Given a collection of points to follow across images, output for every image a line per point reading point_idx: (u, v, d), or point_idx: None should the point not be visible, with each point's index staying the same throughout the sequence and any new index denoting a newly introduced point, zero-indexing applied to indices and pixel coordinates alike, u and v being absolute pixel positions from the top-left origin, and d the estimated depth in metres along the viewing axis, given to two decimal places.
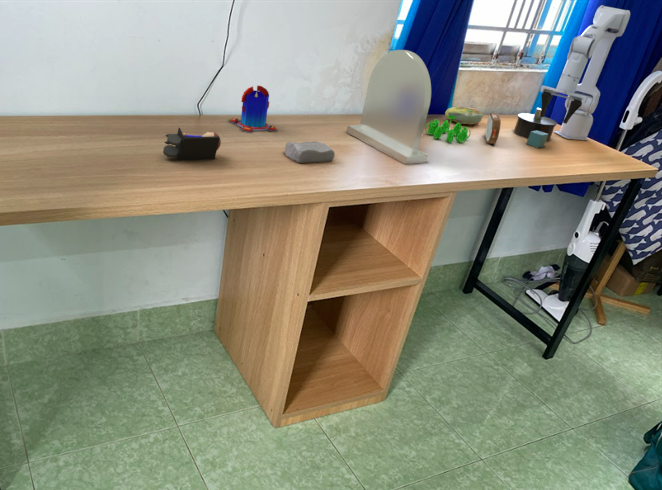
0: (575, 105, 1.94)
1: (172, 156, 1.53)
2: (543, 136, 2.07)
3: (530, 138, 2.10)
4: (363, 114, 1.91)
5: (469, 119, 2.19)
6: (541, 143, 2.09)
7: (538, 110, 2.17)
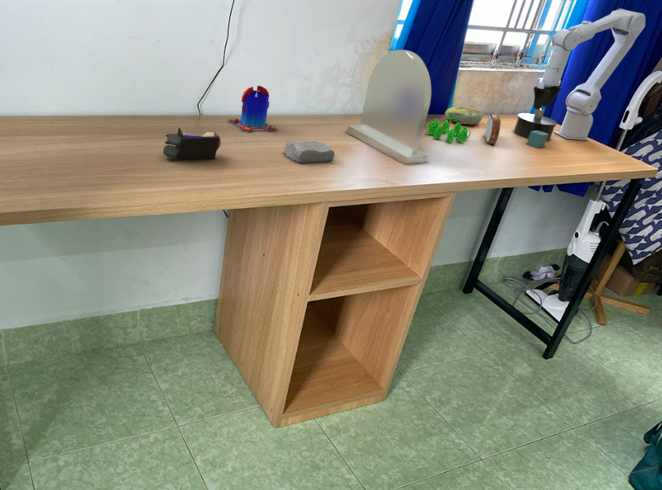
0: None
1: (172, 156, 1.53)
2: (543, 136, 2.07)
3: (530, 138, 2.10)
4: (363, 114, 1.91)
5: (469, 119, 2.19)
6: (541, 143, 2.09)
7: (538, 110, 2.17)
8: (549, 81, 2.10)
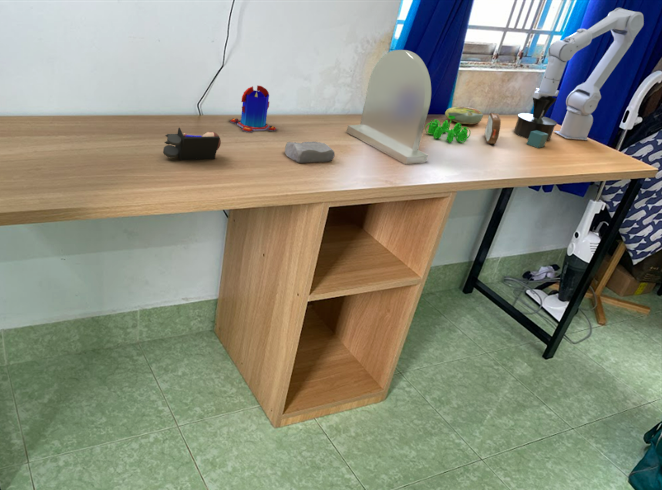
0: None
1: (172, 156, 1.53)
2: (543, 136, 2.07)
3: (530, 138, 2.10)
4: (363, 114, 1.91)
5: (469, 119, 2.19)
6: (541, 143, 2.09)
7: None
8: (545, 91, 2.12)
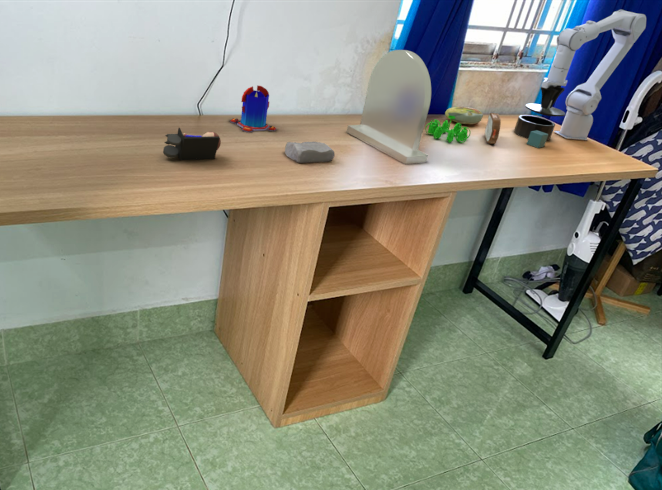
0: None
1: (172, 156, 1.53)
2: (543, 136, 2.07)
3: (530, 138, 2.10)
4: (363, 114, 1.91)
5: (469, 119, 2.19)
6: (541, 143, 2.09)
7: None
8: (553, 81, 2.09)
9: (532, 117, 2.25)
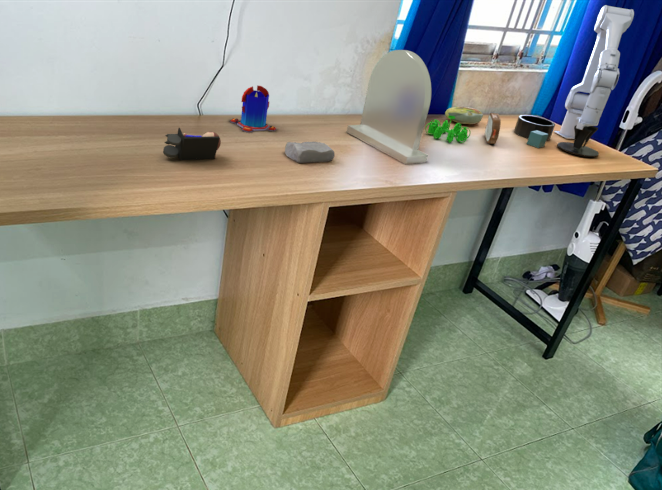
0: None
1: (172, 156, 1.53)
2: (543, 136, 2.07)
3: (530, 138, 2.10)
4: (363, 114, 1.91)
5: (469, 119, 2.19)
6: (541, 143, 2.09)
7: None
8: (588, 121, 2.04)
9: (532, 117, 2.25)
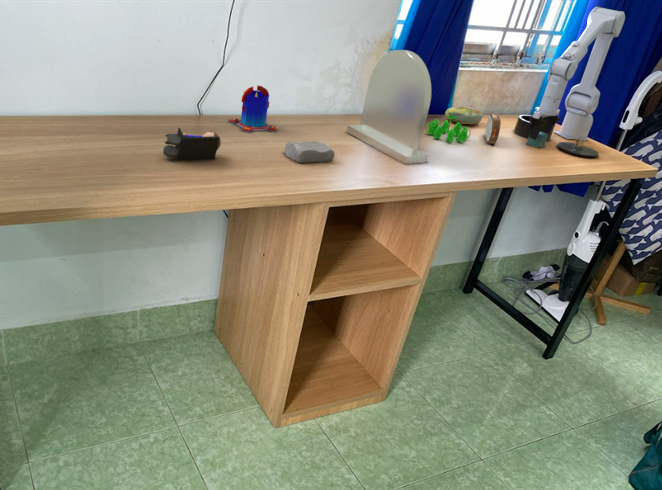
0: None
1: (172, 156, 1.53)
2: (543, 136, 2.07)
3: (530, 138, 2.10)
4: (363, 114, 1.91)
5: (469, 119, 2.19)
6: (541, 143, 2.09)
7: (579, 140, 2.08)
8: (545, 111, 2.03)
9: None
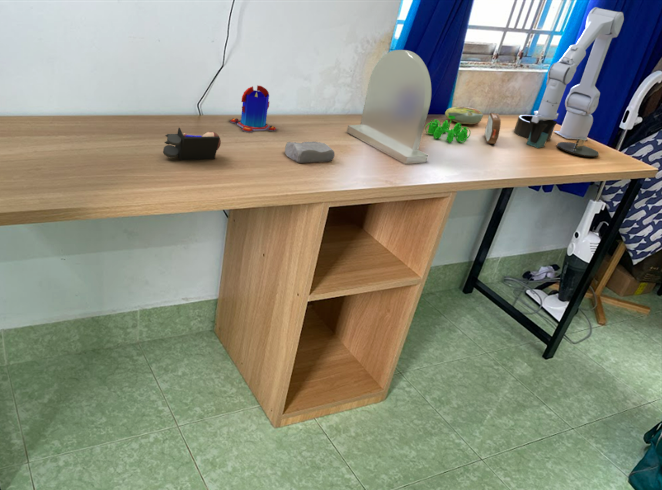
0: None
1: (172, 156, 1.53)
2: (543, 136, 2.07)
3: None
4: (363, 114, 1.91)
5: (469, 119, 2.19)
6: (541, 143, 2.09)
7: (579, 140, 2.08)
8: (544, 115, 2.03)
9: (532, 117, 2.25)
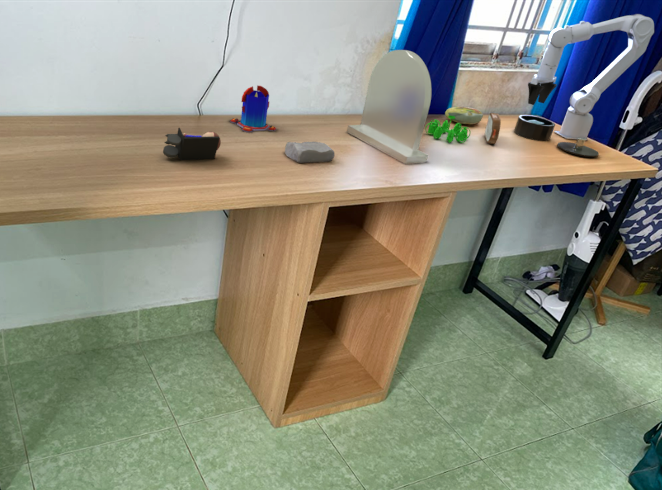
0: None
1: (172, 156, 1.53)
2: None
3: None
4: (363, 114, 1.91)
5: (469, 119, 2.19)
6: None
7: (579, 140, 2.08)
8: (543, 77, 2.18)
9: (532, 117, 2.25)
